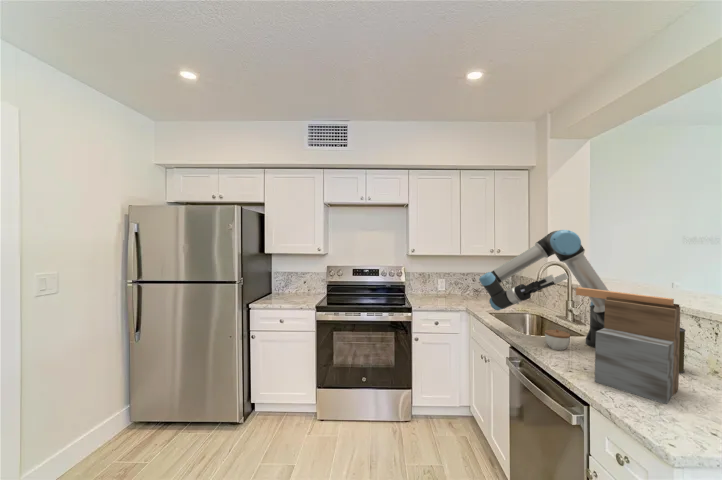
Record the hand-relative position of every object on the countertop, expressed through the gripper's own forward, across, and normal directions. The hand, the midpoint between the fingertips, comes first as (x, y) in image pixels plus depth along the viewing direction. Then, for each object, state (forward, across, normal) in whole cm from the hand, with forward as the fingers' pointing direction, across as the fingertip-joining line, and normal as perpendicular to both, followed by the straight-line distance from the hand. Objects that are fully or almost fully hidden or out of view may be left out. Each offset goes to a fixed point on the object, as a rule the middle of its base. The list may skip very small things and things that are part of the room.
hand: (560, 276), depth 144 cm
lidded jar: (-25, -16, -29) cm, 41 cm away
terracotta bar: (+15, 0, -17) cm, 23 cm away
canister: (+8, -28, -48) cm, 56 cm away
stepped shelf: (+6, +4, -46) cm, 47 cm away
